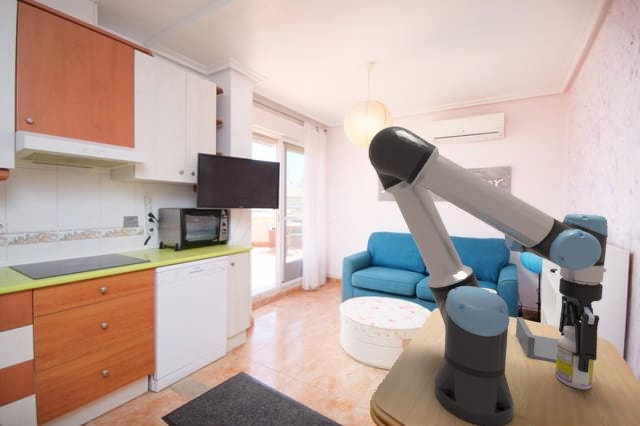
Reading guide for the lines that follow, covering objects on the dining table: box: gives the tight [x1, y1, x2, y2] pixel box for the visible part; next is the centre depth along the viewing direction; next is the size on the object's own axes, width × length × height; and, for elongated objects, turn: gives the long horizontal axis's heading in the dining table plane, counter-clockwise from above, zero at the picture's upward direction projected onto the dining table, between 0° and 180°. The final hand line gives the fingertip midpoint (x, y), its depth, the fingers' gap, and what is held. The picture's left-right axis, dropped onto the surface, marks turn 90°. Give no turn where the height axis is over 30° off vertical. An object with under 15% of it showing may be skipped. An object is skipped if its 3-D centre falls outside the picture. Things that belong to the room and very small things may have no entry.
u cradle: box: [515, 316, 562, 364], centre depth 84 cm, size 13×14×6 cm
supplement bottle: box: [555, 326, 595, 390], centre depth 69 cm, size 7×7×13 cm
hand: (573, 373), depth 70 cm, fingers closed on supplement bottle, 7 cm apart
